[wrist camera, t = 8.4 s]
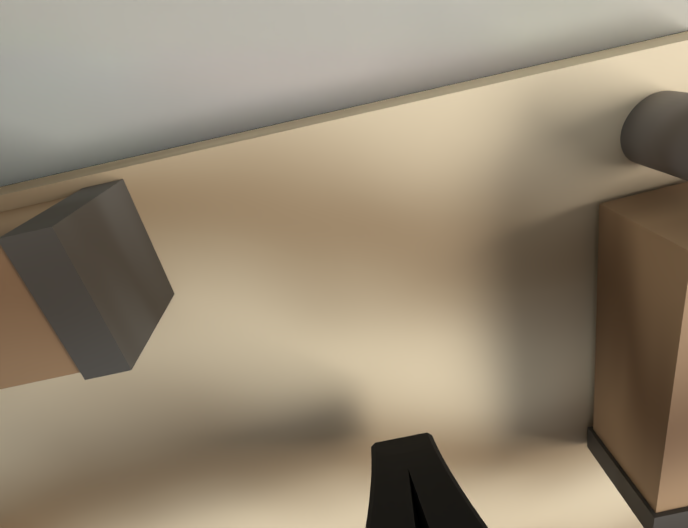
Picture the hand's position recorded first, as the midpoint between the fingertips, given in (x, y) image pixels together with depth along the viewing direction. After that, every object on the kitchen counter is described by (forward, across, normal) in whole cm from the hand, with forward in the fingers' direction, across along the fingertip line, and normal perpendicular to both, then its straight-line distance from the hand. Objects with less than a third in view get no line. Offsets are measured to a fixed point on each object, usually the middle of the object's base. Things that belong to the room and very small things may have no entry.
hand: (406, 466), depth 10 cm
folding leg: (+1, -6, -1) cm, 7 cm away
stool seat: (+3, +3, +1) cm, 4 cm away
